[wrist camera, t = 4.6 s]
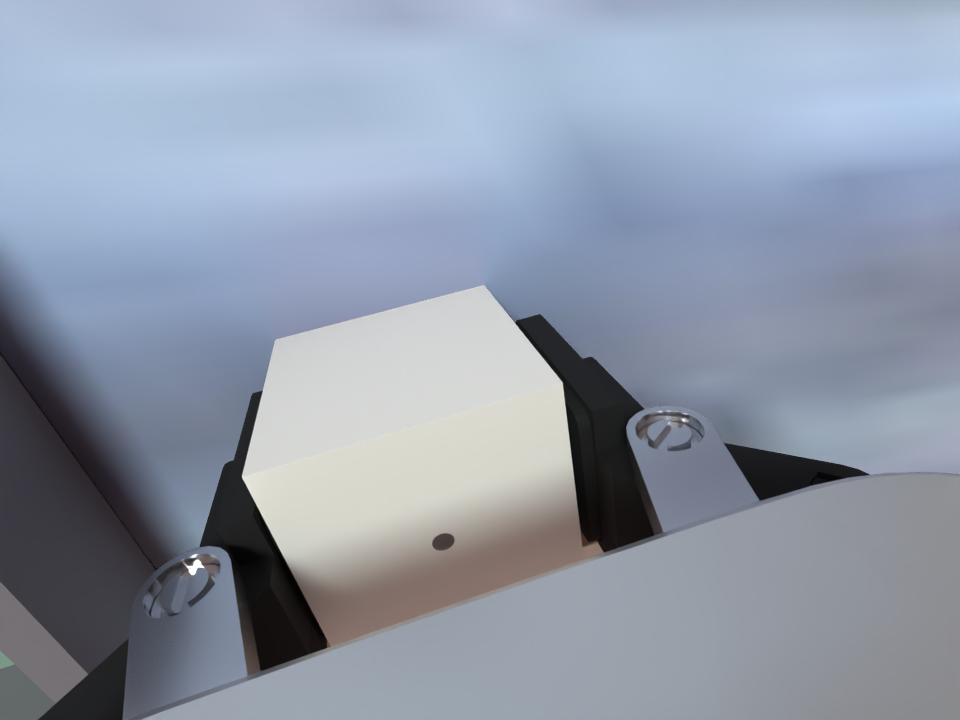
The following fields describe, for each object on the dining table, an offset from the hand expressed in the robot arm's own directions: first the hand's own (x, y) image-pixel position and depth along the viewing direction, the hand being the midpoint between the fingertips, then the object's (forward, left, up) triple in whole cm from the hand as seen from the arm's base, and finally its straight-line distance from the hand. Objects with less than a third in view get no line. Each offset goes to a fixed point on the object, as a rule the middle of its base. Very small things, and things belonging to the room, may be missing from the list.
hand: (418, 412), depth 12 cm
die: (0, 0, -1) cm, 1 cm away
